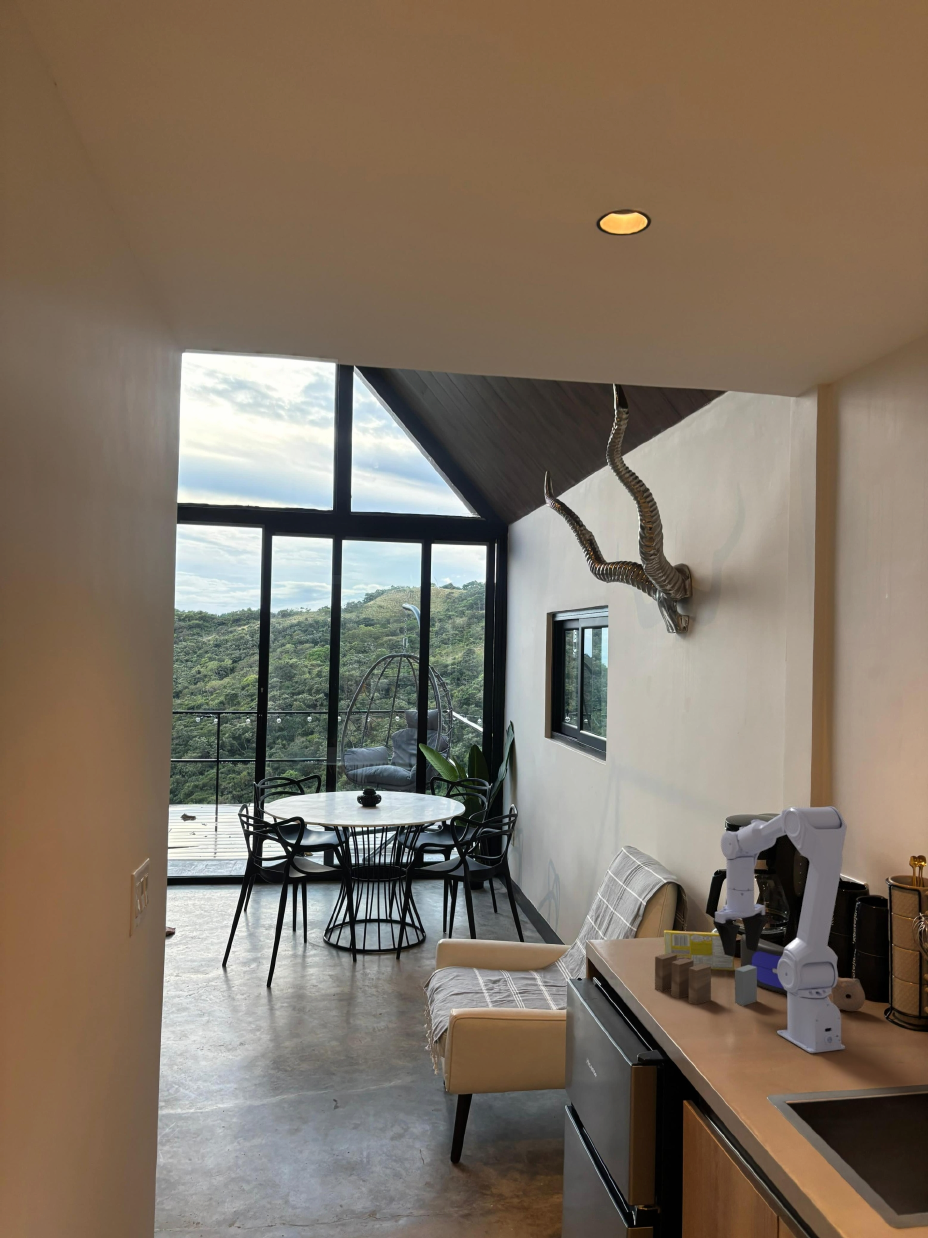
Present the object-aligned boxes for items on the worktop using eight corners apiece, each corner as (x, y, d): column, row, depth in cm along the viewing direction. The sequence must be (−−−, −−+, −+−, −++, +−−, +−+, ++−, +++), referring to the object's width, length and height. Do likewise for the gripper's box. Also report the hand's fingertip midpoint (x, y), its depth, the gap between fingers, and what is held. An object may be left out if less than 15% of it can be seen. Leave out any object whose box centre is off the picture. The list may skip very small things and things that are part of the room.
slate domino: (756, 1001, 181) (756, 967, 182) (743, 1006, 178) (743, 971, 179) (748, 998, 183) (748, 964, 183) (735, 1003, 180) (735, 969, 180)
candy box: (732, 968, 202) (732, 933, 203) (734, 971, 200) (734, 935, 201) (663, 964, 204) (663, 929, 205) (664, 967, 202) (664, 932, 202)
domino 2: (693, 993, 185) (693, 960, 185) (679, 998, 181) (679, 964, 182) (685, 991, 186) (685, 958, 187) (671, 995, 183) (671, 962, 184)
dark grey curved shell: (730, 975, 197) (730, 933, 198) (744, 973, 199) (744, 931, 200) (785, 999, 183) (785, 954, 183) (800, 996, 185) (800, 951, 186)
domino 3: (710, 1000, 181) (710, 966, 182) (696, 1005, 178) (696, 970, 178) (703, 997, 183) (703, 963, 183) (688, 1002, 179) (688, 968, 180)
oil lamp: (821, 1012, 176) (821, 972, 176) (816, 1004, 180) (816, 966, 180) (867, 1015, 174) (866, 975, 175) (861, 1008, 178) (861, 969, 179)
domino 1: (676, 987, 188) (676, 955, 189) (662, 992, 185) (662, 959, 186) (669, 985, 190) (669, 952, 190) (654, 989, 187) (655, 956, 187)
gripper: (745, 881, 191) (746, 943, 190) (703, 888, 183) (703, 953, 182) (773, 887, 185) (773, 951, 184) (730, 895, 177) (730, 962, 176)
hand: (740, 952), depth 182 cm, fingers open, 7 cm apart
